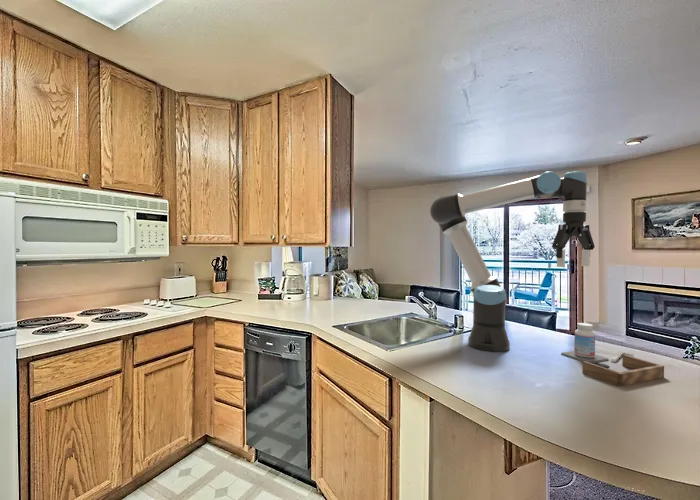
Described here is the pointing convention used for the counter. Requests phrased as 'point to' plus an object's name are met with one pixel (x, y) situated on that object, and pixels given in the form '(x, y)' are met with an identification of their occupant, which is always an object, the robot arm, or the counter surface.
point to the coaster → (591, 360)
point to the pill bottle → (584, 340)
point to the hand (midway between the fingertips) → (573, 266)
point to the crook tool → (620, 356)
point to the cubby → (640, 374)
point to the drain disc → (602, 365)
